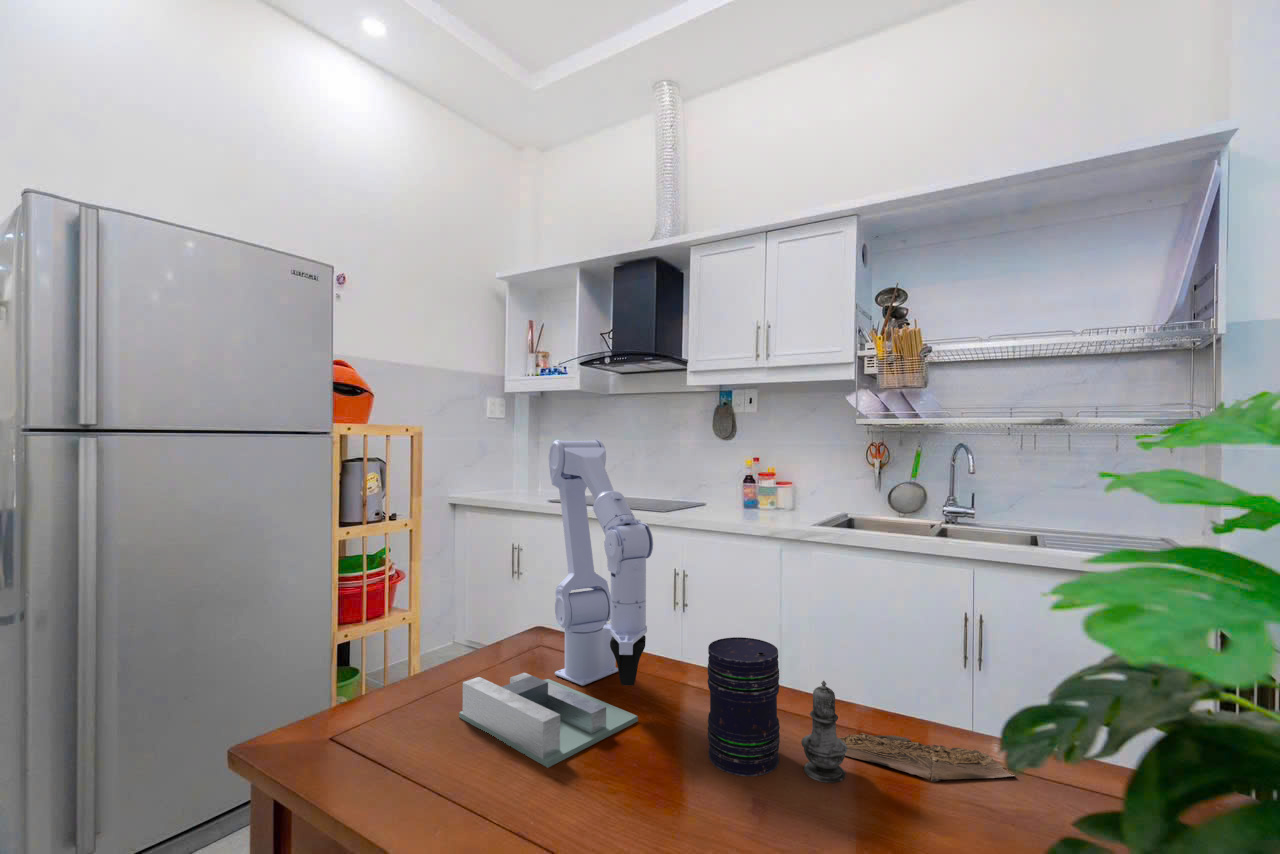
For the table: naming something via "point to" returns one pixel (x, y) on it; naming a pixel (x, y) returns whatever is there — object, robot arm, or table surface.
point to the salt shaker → (824, 739)
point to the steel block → (531, 690)
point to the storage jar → (743, 706)
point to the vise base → (574, 733)
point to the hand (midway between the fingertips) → (627, 683)
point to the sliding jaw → (573, 707)
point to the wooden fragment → (923, 758)
